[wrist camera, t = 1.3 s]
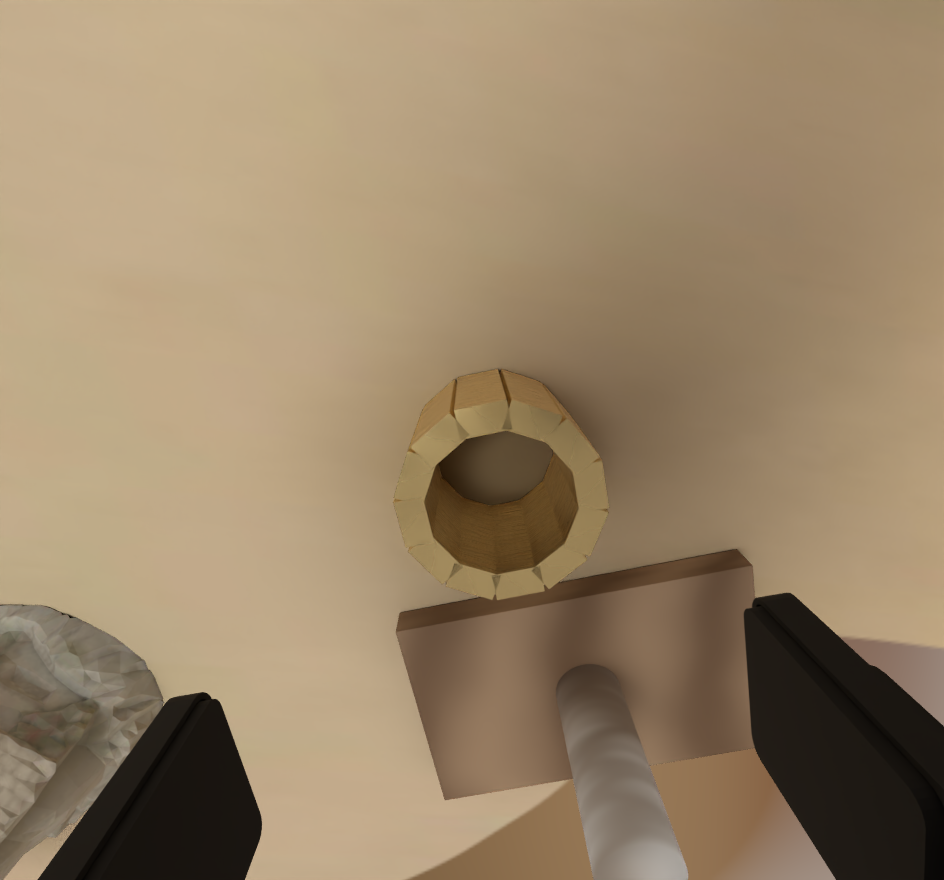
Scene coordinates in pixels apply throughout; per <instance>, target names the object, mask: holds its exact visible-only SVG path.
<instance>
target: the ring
mask: <svg viewBox="0 0 944 880" xmlns="http://www.w3.org/2000/svg"><path fill="white" fill-rule="evenodd" d="M502 431H510V432H513V433H517V434H520V435H523V436H526V437H529V438H533V439H536V440H539V441H542V442H545V443H547V444H548V445H549V446H550V447H551V449H552V450H553V456H552V458H551V461H550V464H549V466H548V469H547V471H546V474H545V477H544V479H543V481H542V482H541V483H540V484H539V485H538V486H536V487H535V488H534V489H533V490H531V491H530V492H529V493H528V494H527V495H525V496H524V497H523V498H522V499H520V500H517V501H512V502H507V503H502V504H497V505H492V506H490V505H486V504H483V503H480V502H476V501H473V500H470V499H466V498H463V497H461V496H460V495H459V494H458V493H457V491H456V490H455V489H454V488H453V487H452V486H451V485H450V484H449V483H448V482H447V481H446V480H445V479H444V478H443V477H442V475H441V471H440V467H439V462H440V461H441V460H442V459H444V458H445V457H446V456H447V455H448V454H449V453H450V452H452V451H453V450H454V449H455V448H456V447H457V446H459V445H460V444H461V443H462V442H463V441H464V440H465V439H468V438H473V437H478V436H483V435H487V434H492V433H497V432H502ZM394 498H395V499H394V502H393V503H394V507H395V510H396V514H397V518H398V521H399V525H400V529H401V532H402V536H403V540H404V543H405V547H406V548H407V547H409V550H408V552H409V553H410V554H411V555H412V556H413V557H414V558H415V559H416V560H417V561H418V562H419V563H420V564H421V565H422V566H423V567H424V568H425V569H426V570H428V571H429V572H430V573H431V574H432V575H433V576H434V577H435V578H436V579H437V580H438V581H439V582H440V583H441V584H443V583H444V582H446V581H447V582H446V587H449V588H452V589H456V590H459V591H463V592H466V593H470V594H473V595H477V596H480V597H484V598H487V599H491V600H492V599H493V597H494V594H495V593H496V597H497V600H501V599H506V598H511V597H517V596H522V595H527V594H533V593H538V592H543V591H545V590H544V585H543V583H544V584H545V585H546V586H547V587H548V589H550V588H551V587H553V586H554V585H555V584H557V583H558V582H559V581H561V580H562V579H563V578H564V577H566V576H567V575H568V574H570V573H571V572H572V571H574V570H575V569H576V568H577V567H579V566H580V565H581V564H583V563H584V562H585V561H587V558H586V556H585V555H588V556H591V553H592V551H593V548H594V546H595V544H596V541H597V539H598V537H599V534H600V532H601V530H602V527H603V525H604V523H605V520H606V518H607V516H608V513H609V512H608V511H607V508H609V502H608V496H607V489H606V483H605V476H604V470H603V463H602V460H601V459H600V456H599V454H598V453H597V451H596V450H595V449H594V447H593V446H592V444H591V443H590V442H589V440H588V439H587V438H586V436H585V435H584V433H583V432H582V431H581V429H580V428H579V426H578V425H577V424H576V422H575V421H574V419H573V418H572V417H571V415H570V414H569V413H568V411H567V410H566V409H565V408H564V407H563V406H562V405H561V403H560V402H559V401H558V400H557V399H556V398H555V397H554V395H553V394H552V393H551V392H550V391H549V390H548V389H547V387H546V386H545V385H544V384H541V382H540V381H537V380H534V379H531V378H528V377H525V376H522V375H518V374H515V373H512V372H509V371H506V370H503V369H502V370H501V372H500V375H499V372H498V369H495V370H490V371H485V372H480V373H476V374H471V375H466V376H461V377H458V381H456V380H455V379H454V380H453V381H452V382H451V383H449V384H448V385H447V386H446V387H445V388H444V389H443V390H442V391H441V392H439V393H438V394H437V395H436V396H435V397H434V398H433V399H432V400H431V401H429V402H428V403H427V404H426V405H425V407H424V409H423V410H422V413H421V415H420V418H419V421H418V424H417V427H416V429H415V432H414V435H413V438H412V441H411V443H410V446H409V449H408V452H407V455H406V459H405V462H404V465H403V468H402V472H401V475H400V478H399V481H398V485H397V488H396V491H395V494H394Z"/></svg>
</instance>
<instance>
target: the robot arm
mask: <svg viewBox="0 0 944 880" xmlns="http://www.w3.org/2000/svg"><path fill="white" fill-rule="evenodd" d="M744 629H745V644H746V659H747V674H748V689H749V704H750V719H751V734H752V740H753V743H754V747H755V749H756V752H757V754H758V756H759V758H760V760H761V762H762V763H763V764H764V766H765V768H766V770H767V771H768V773H769V774H770V776H771V777H772V779H773V780H774V782H775V784H776V785H777V787H778V788H779V790H780V792H781V793H782V795H783V796H784V798H785V799H786V801H787V803H788V804H789V806H790V808H791V809H792V811H793V812H794V814H795V815H796V817H797V818H798V820H799V822H800V823H801V825H802V827H803V828H804V830H805V831H806V833H807V834H808V836H809V838H810V839H811V841H812V842H813V844H814V845H815V847H816V849H817V850H818V852H819V853H820V855H821V857H822V858H823V860H824V861H825V863H826V864H827V866H828V868H829V869H830V871H831V872H832V874H833V876H834V877H835V879H836V880H944V726H943V725H942V724H941V723H939V722H938V721H937V720H936V719H935V718H934V717H933V716H932V715H931V714H930V713H928V712H927V711H926V710H925V709H924V708H923V707H922V706H921V705H920V704H919V703H918V702H916V701H915V700H914V699H913V698H912V697H911V696H910V695H909V694H907V693H906V692H905V691H904V690H903V689H902V688H901V687H900V686H899V685H898V684H897V683H895V682H894V681H893V680H892V679H891V678H890V677H889V676H888V675H887V674H885V673H884V672H883V671H881V670H880V669H878V668H877V667H875V666H871V665H869V664H868V663H867V662H866V661H865V660H864V659H862V658H861V657H860V656H859V655H858V654H857V653H856V652H855V651H854V650H853V649H852V648H850V647H849V646H848V645H847V644H846V643H845V642H844V641H843V640H842V639H841V638H840V637H839V636H838V635H836V634H835V633H834V632H833V631H832V630H831V629H830V628H829V627H828V626H827V625H826V624H825V623H823V622H822V621H821V620H820V619H819V618H818V617H817V616H816V615H815V614H814V613H813V612H812V611H810V610H809V609H808V608H807V607H806V606H805V605H804V604H803V603H802V602H801V601H800V600H798V599H797V598H796V597H795V596H794V595H792V594H791V593H782V594H776V595H770V596H765V597H759V598H755V599H754V600H753V603H752V608H747V609H745V611H744ZM261 830H262V819H261V814H260V811H259V808H258V806H257V803H256V800H255V797H254V794H253V792H252V789H251V786H250V783H249V781H248V778H247V775H246V772H245V769H244V767H243V764H242V761H241V758H240V756H239V753H238V750H237V747H236V745H235V742H234V739H233V736H232V733H231V731H230V728H229V725H228V722H227V720H226V717H225V714H224V711H223V708H222V706H221V704H220V702H219V701H218V700H217V699H211V697H210V695H208V694H207V693H204V692H201V693H195V694H190V695H184V696H178V697H173V698H171V699H169V700H168V701H167V702H166V703H165V705H164V706H163V707H162V709H161V710H160V712H159V713H158V714H157V716H156V717H155V718H154V720H153V721H152V723H151V724H150V725H149V727H148V728H147V729H146V731H145V732H144V734H143V735H142V736H141V738H140V739H139V741H138V742H137V743H136V745H135V746H134V747H133V749H132V750H131V752H130V753H129V754H128V756H127V757H126V758H125V760H124V761H123V763H122V764H121V765H120V767H119V768H118V769H117V771H116V772H115V774H114V775H113V776H112V778H111V779H110V781H109V782H108V783H107V785H106V786H105V787H104V789H103V790H102V792H101V793H100V794H99V796H98V797H97V798H96V800H95V801H94V803H93V804H92V805H91V807H90V808H89V810H88V811H87V812H86V814H85V815H84V816H83V818H82V819H81V821H80V822H79V823H78V825H77V826H76V827H75V829H74V830H73V832H72V833H71V834H70V836H69V837H68V838H67V840H66V841H65V843H64V844H63V845H62V847H61V848H60V850H59V851H58V852H57V854H56V855H55V856H54V858H53V859H52V861H51V862H50V863H49V865H48V866H47V867H46V869H45V870H44V872H43V873H42V874H41V876H40V877H39V878H38V880H245V878H246V875H247V872H248V870H249V867H250V864H251V862H252V859H253V856H254V854H255V851H256V848H257V846H258V843H259V840H260V836H261Z"/></svg>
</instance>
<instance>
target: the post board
mask: <svg viewBox="0 0 944 880" xmlns="http://www.w3.org/2000/svg"><path fill="white" fill-rule="evenodd" d="M544 590H545V591H543V592H538V593H533V594H527V595H522V596H517V597H511V598H506V599H501V600H497V597H496V595H494V597H493V599H492V600H491V599H487V598H484V597H481V598H476V599H471V600H465V601H460V602H455V603H449V604H444V605H439V606H433V607H428V608H423V609H418V610H412V611H407V612H402V613H400V614H399V619H398V624H397V629H396V635H397V638H398V641H399V645H400V648H401V652H402V655H403V659H404V662H405V665H406V669H407V672H408V676H409V679H410V683H411V686H412V689H413V693H414V696H415V700H416V703H417V707H418V710H419V713H420V717H421V720H422V724H423V727H424V731H425V734H426V737H427V741H428V744H429V748H430V751H431V755H432V758H433V761H434V765H435V768H436V772H437V775H438V779H439V782H440V785H441V789H442V792H443V796H444V799H445V800H449V799H455V798H461V797H467V796H473V795H479V794H485V793H491V792H497V791H503V790H509V789H515V788H521V787H527V786H533V785H538V784H544V783H550V782H556V781H562V780H568V779H573V781H574V786H575V791H576V796H577V801H578V805H579V810H580V815H581V820H582V825H583V829H584V835H585V840H586V844H587V850H588V854H589V859H590V864H591V869H592V874H593V878H594V880H688V871H687V867H686V864H685V862H684V859H683V856H682V853H681V851H680V848H679V845H678V843H677V840H676V837H675V834H674V832H673V829H672V826H671V823H670V821H669V818H668V815H667V813H666V810H665V807H664V805H663V801H662V799H661V796H660V793H659V791H658V788H657V785H656V782H655V780H654V777H653V774H652V771H651V769H650V766H651V765H657V764H663V763H669V762H675V761H681V760H687V759H693V758H699V757H705V756H711V755H716V754H722V753H728V752H734V751H740V750H746V749H751V748H755V747H754V743H753V740H752V734H751V719H750V704H749V689H748V674H747V659H746V644H745V629H744V611H745V609H747V608H752V603H753V600H754V599H755V591H754V579H753V566H752V565H751V564H750V562H749V561H748V560H747V559H746V558H745V557H744V556H743V555H742V554H741V553H740V552H739V551H738V550H737V549H736V550H730V551H725V552H720V553H715V554H709V555H704V556H699V557H693V558H688V559H683V560H677V561H672V562H667V563H661V564H656V565H651V566H646V567H640V568H635V569H630V570H624V571H619V572H614V573H608V574H603V575H598V576H593V577H587V578H582V579H577V580H571V581H566V582H561V583H557V584H555V585H554V586H553V587H551V588H550V589H548V587H547V586H546V585H545V586H544Z"/></svg>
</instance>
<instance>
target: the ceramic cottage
mask: <svg viewBox="0 0 944 880" xmlns="http://www.w3.org/2000/svg"><path fill="white" fill-rule="evenodd" d="M162 699H163V697H162V695H161V693H160V691H159V687H158V685H157V682H156V680H155V677H154V675H153V674H152V672H151V671H150V670H148V668H147V665H146V663H145V660H142V659H141V658H140V657H139V656H138V655H136V654H135V653H134V652H133V651H132V650H130V649H129V648H128V647H127V646H125V645H124V644H123V643H122V642H120V641H119V640H118V639H116V638H115V637H113V636H111V635H109V634H107V633H105V632H103V631H102V630H100V629H98V628H96V627H94V626H92V625H91V624H89V623H85V622H84V621H82V620H80V619H78V618H69V616H68V614H66V615H62V614H61V612H58V611H55V610H53V609H51V608H48V607H45V606H42V605H25V606H23V605H3V606H0V880H3V879H4V878H5V877H6V875H7V874H8V873H9V872H10V871H11V869H12V868H13V867H14V866H15V864H16V863H17V862H18V861H19V860H20V858H21V857H22V856H23V855H24V854H25V853H26V852H28V851H29V850H30V849H32V848H33V847H34V846H36V845H37V844H38V843H40V842H41V841H42V840H44V839H45V838H46V837H57V836H58V835H59V834H60V833H61V832H62V831H63V830H64V829H65V828H66V827H67V826H68V825H69V823H75V822H76V821H77V820H78V819H79V818H80V816H81V815H82V814H83V813H84V812H85V811H86V810H87V809H88V808H90V807H91V805H92V804H93V803H94V801H95V800H96V798H97V797H98V796H99V794H100V793H101V792H102V790H103V789H104V787H105V786H106V785H107V783H108V782H109V781H110V779H111V778H112V776H113V775H114V774H115V772H116V771H117V769H118V768H119V767H120V765H121V764H122V763H123V761H124V760H125V758H126V757H127V756H128V754H129V753H130V752H131V750H132V749H133V747H134V746H135V745H136V743H137V742H138V741H139V739H140V738H141V736H142V735H143V734H144V732H145V731H146V729H147V728H148V727H149V725H150V724H151V723H152V721H153V720H154V718H155V717H156V716H157V714H158V713H159V712H160V710H161V709H162V705H163V703H164V702H162V701H161V700H162Z"/></svg>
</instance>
